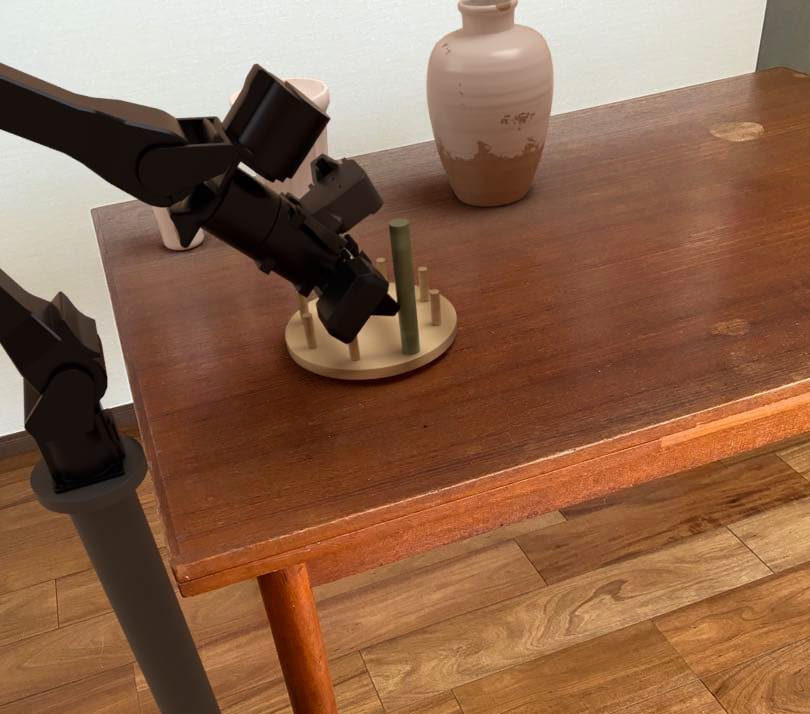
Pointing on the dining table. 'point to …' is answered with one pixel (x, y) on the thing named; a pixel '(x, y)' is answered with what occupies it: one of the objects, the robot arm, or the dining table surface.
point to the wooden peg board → (379, 326)
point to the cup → (303, 176)
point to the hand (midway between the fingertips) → (396, 310)
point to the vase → (490, 103)
